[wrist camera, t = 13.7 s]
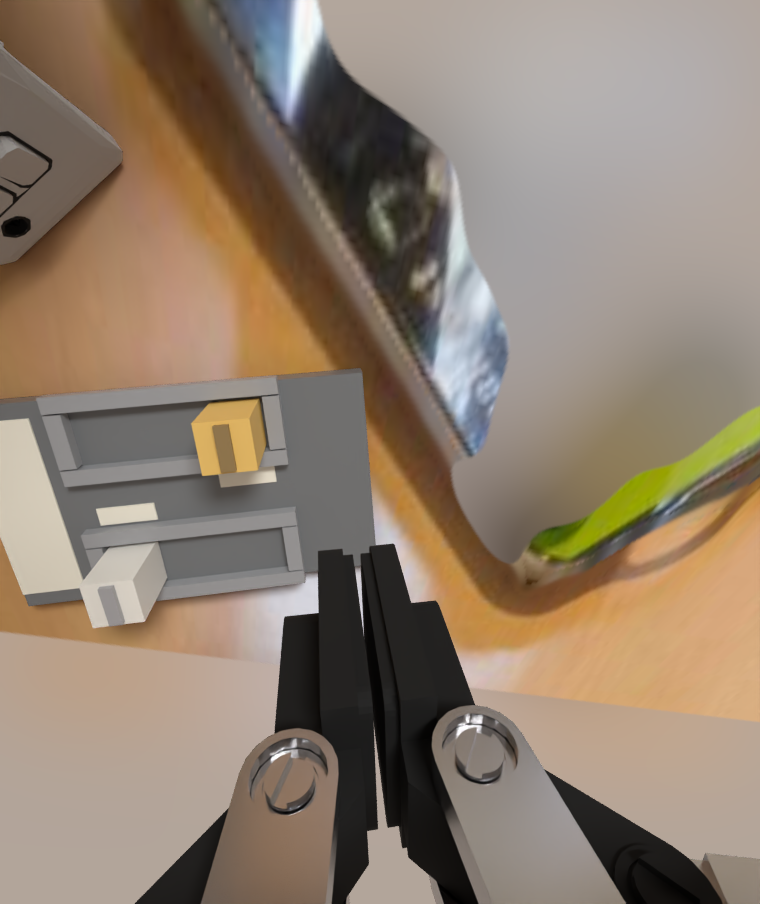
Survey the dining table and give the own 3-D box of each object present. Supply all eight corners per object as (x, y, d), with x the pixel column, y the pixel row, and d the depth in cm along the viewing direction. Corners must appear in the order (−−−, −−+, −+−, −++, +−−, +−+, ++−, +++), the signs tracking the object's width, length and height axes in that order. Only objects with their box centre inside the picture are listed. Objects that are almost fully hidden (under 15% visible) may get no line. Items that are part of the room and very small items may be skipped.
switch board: (-34, 397, 29) (-62, 406, 27) (359, 363, 31) (362, 370, 29) (42, 596, 34) (23, 617, 32) (375, 555, 36) (378, 573, 34)
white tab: (110, 545, 32) (76, 589, 27) (157, 539, 32) (130, 582, 27) (122, 583, 33) (90, 631, 28) (167, 577, 33) (143, 625, 28)
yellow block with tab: (209, 402, 29) (189, 425, 25) (259, 397, 29) (248, 419, 25) (218, 448, 30) (200, 478, 26) (266, 443, 30) (257, 472, 26)
